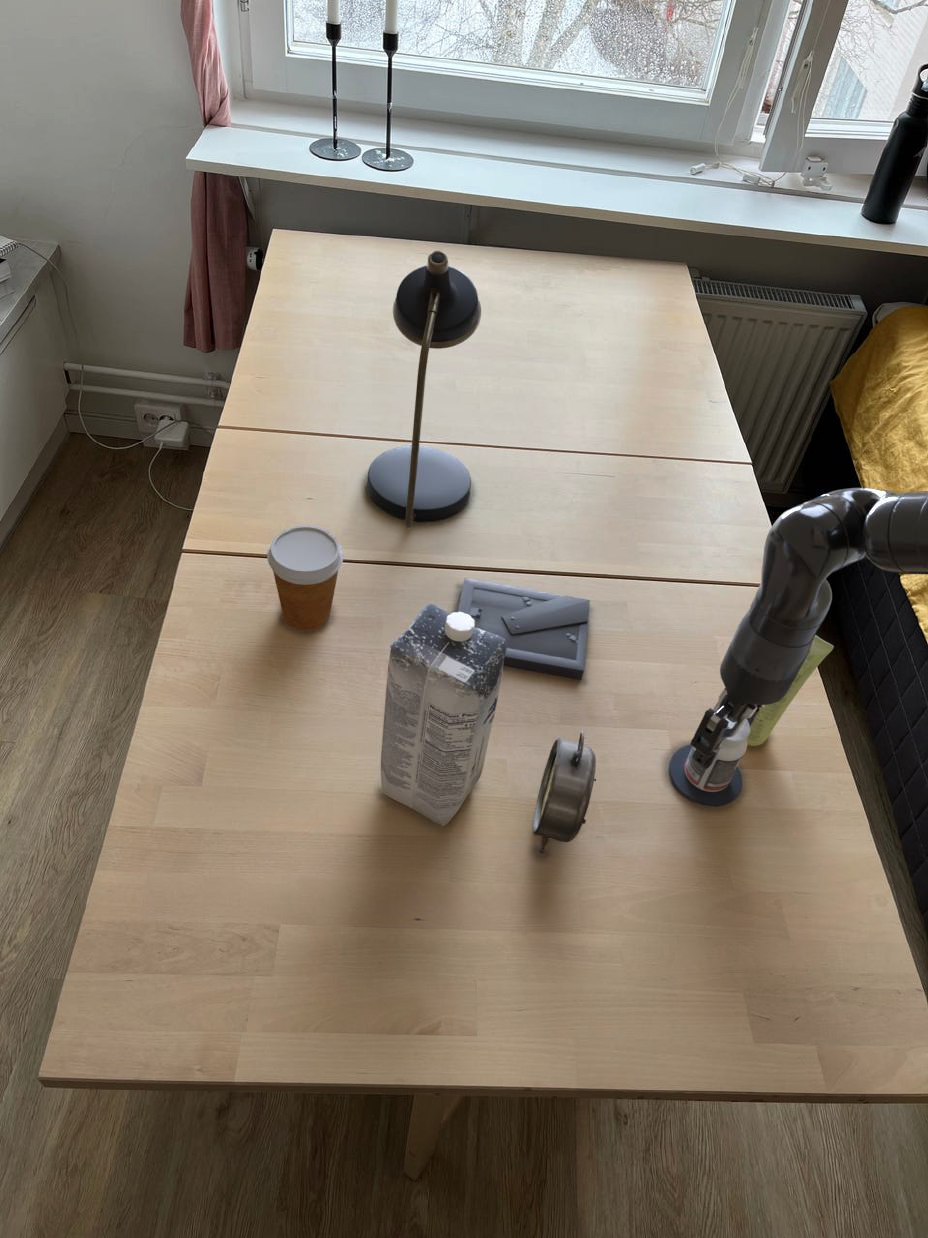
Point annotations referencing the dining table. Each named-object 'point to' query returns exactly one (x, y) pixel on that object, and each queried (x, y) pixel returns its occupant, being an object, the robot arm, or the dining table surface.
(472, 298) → the lamp
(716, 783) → the pill bottle
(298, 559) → the disposable coffee cup
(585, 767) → the alarm clock
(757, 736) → the tube
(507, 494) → the dining table surface
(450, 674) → the juice carton
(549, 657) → the picture frame
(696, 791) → the coaster
